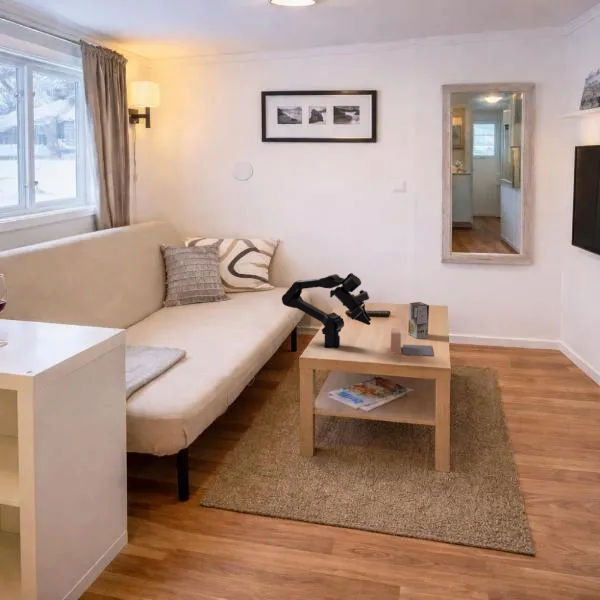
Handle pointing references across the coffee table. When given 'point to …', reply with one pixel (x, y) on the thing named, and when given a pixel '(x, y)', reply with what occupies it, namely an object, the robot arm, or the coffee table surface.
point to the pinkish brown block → (396, 340)
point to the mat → (417, 350)
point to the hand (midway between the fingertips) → (370, 322)
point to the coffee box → (418, 320)
